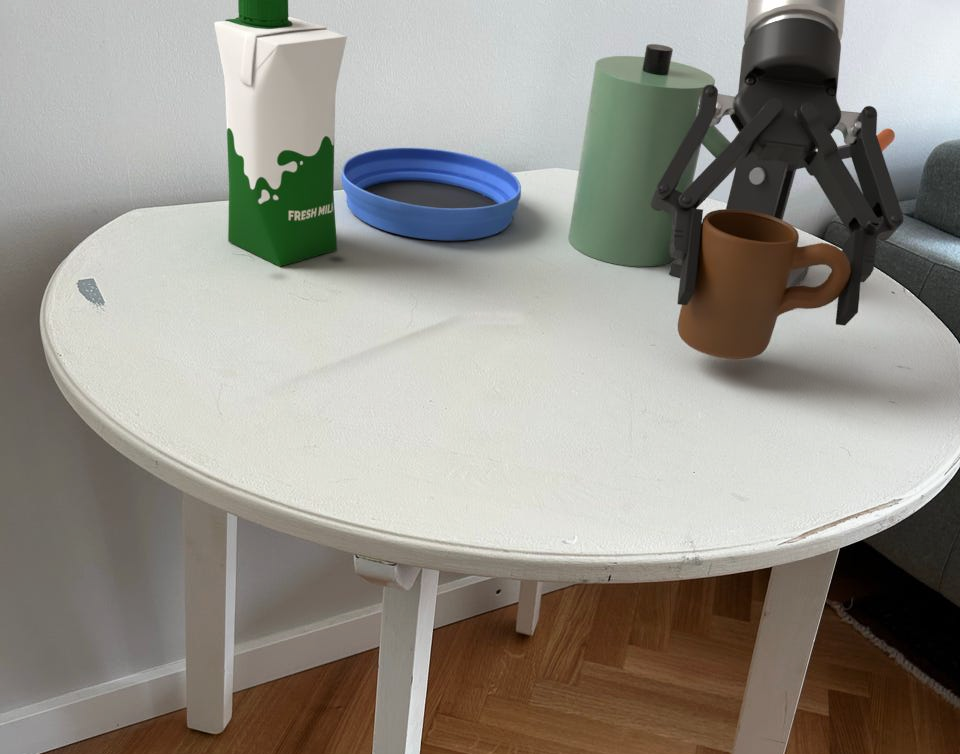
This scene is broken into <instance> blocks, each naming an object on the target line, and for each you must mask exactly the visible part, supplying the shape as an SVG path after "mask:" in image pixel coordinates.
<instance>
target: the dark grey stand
mask: <svg viewBox="0 0 960 754" xmlns="http://www.w3.org/2000/svg"><path fill="white" fill-rule="evenodd" d="M787 168H788V164H787V163H784V162H782V161H779V160H771V161H764V160H758V156H756V155H754V154H753V153H751V154H750V155H749V156H748V157H747V158H746V159H745V160H744V161H743V162H742V163H741V164H740V165H739V166H737V167H736V168H735V169H734V174H733V178H732V183H731V186H730V190H729V194H728V199H727V203H726V208H725V209H738V210H747V211H753V212H758V213H762V214H766V215H769V216H773V217H775V218H778V219H780V220H783V219H784V216H785V213H786V209H787V205H788V202H789V198H790V195H791V190H792V187H793V185H794V184H793V183H794V180H795V176H796V172H797V169H796V170H791V171H787ZM785 175H786V177H785ZM783 221H784V220H783ZM681 265H682V259H679V258H675V259H674V260H672V261H671V262H670V268H669V272H668V275H670V276H673V277H676V278H679V279H680V274H681ZM809 269H810V267H804V268H799V269H794V270H792V271H791V273H790V276H789V280H788V283H787V287H786V288H788V287H792V286H799V284H801V283H802V282H803V280H804V279H805V278H806V277H807V276H808V272H809Z"/></svg>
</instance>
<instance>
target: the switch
mask: <svg viewBox="0 0 960 754" xmlns="http://www.w3.org/2000/svg"><path fill="white" fill-rule="evenodd" d="M876 135H877V138H878V141H879V144H880V147H881V150H882V152H884V151H885V150H886V149H887V148H888V147H889V146H890V144H892V143H893V141H894V140H895V137H896V133H895V131H894V130H893V129H892V128H884V129H883V130H881V131H880V132H879V133H878V134H876ZM837 147H838V154H839V156H840V158H841V159H842V160H846V159H852V158H851V153H850V144H849V145H847V144H843V145H839V146H838V145H837ZM816 152H818V150H816ZM799 169H800V170H801V169H805V167H804V165H803V164H802V162H801V161H800V162H798V163H797V165H794V164H788V168H787V171H791V170H796V171H797V170H799ZM785 177H786V175H785Z"/></svg>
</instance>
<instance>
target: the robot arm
mask: <svg viewBox="0 0 960 754" xmlns="http://www.w3.org/2000/svg"><path fill="white" fill-rule="evenodd" d="M845 5H846V0H747V6H746V15H745V23H744V33H743V41H744V44H743V47H742V51H741V62H740V72H739V79H738V80H739V81H738V90H737V93H736V94H735V96H733V95H729V94H723V93H719V90H718V88H717V87H716V85H715V84H714V85H706V86H705V87H704V88H703V91H702V93H701V96H700V98H699V101H698V103H697V106H696V109H695V115H694V122H693V123H692V125H691V127H690V129H689V130H688V132H687V134H686V136H685V137H684V139H683V141H682V143H681V144H680V146H679V148H678V150H677V151H676V153H675V155H674V157H673V158H672V160H671V162H670V164H669V165H668V167H667V169H666V171H665V172H664V174H663V176H662V178H661V179H660V181H659V183H658V185H657V187H656V190H655V192H654V195H653V197H652V200H651V207H652V208H653V209H654V210H656V211H661V210H663V211H665V212H667V213H668V214H669V215H670V216H671V219H670V220H671V223H672V232H671V241H670V255H671V258H675V259H677V258H679V259H682V265H681V274H680V278H679V285H678V293H677V294H678V295H677V305H680V306H682V305H687V304H688V303H689V301H690V299H691V297H692V295H693V294H694V292H695V284H696V274H697V264H698V255H699V245H700V235H701V226H702V221H703V214H704V209H702V208H699V207H700V206H701V205H702V204H703V203H704V201H706V200H707V198H708V197H709V196H710V195H711V194H712V193H713V192H714V191H715V190H716V189H717V188H718V187H719V186H720V185H721V184H722V183H723V182H724V180H726V178H727V177H728V176H730V174H731V173H732V172H733V171H735V169H736V167H737V166H739V165H740V164H741V163H742V162H743V161H744V160H745V159H746V158H747V157H748V156H749V155H750V154H751V153H753V154H754V155H756V156H758V160H764V161H771V160H779V161H782V162H784V163H787V164H794V165H797V163H798V162H800V161H801V162H802V164H803V165H804V167H805V168H804V169H805V170H806V172H807V174H809V176H813V177H814V178H815V180H816V182H817V183H818V185H819V187H820V189H821V190H822V191H823V193H824V195H825V197H826V198H827V200H828V202H829V203H830V205H831V206H832V208H833V210H834V212H835V213H836V215H837V216H838V218H839V219H840V221H841V223H842V225H843V226H844V228H845V229H846V231H847V233H848V234H849V236H848V237H847V239H846V240H845V241H844V243H843V244H842V249H841V251H843V252H844V253H845V254H846V256H847V258H848V260H849V262H850V268H851V274H850V278H849V282H848V284H847V286H846V288H845V289H844V291H843V292H842V293H841V294H840V296H839V297H838V298H837V304H836V316H835V325H837V326H843V327H845V326H846V325H847V324H849V322H850V321H852V319H853V318H854V317H855V316H856V315H857V314H858V313H859V306H860V305H859V303H860V293H861V283H865V282H866V281H867V280H868V279H869V277H870V276H871V275H872V273H873V272H874V270H875V259H876V246H877V241H879V240H880V241H888V240H889V239H890V238H891V237H892V236H893V235H894V233H895V232H896V231H897V230H898V229H899V228H900V226H902V225H903V223H904V215H903V212H902V209H901V206H900V203H899V200H898V196H897V194H896V190H895V187H894V184H893V182H892V178H891V175H890V172H889V169H888V166H887V163H886V159H885V156H884V154H883V151H882V150H881V147H880V144H879V141H878V138H877V135H878V134H877V130H878V129H877V128H878V111H877V109H876V108H875V107H874V106H872V105H866V106H865V107H863V109H862V110H861V112H856V111H845V110H841V107H840V105H839V102H838V99H837V98H838V97H837V94H838V87H839V86H838V85H839V75H840V74H839V73H840V65H841V64H840V62H841V54H842V53H841V52H842V43H841V40H842V38H843V33H844V32H843V31H844V21H845V19H844V18H845V9H846V8H845ZM725 116H729V117H730V120H731V121H732V123H733V125H734V127H735V128H736V129H737V132H738V133H737V134H736V136H735V137H734V139H732V140H731V141H730V144H729V145H728V146H727V147H726V148H725V149H724V150H723V151H722V152H721V153H720V154H719V156H718V157H717V158H714V160H712V162H711V163H710V164H709V165H708V166H706V168H705V169H704V170H703V171H702V172H701V173H700V174H699V175H698V176H697V177H696V178H694V180H693V183H692V184H691V185H690V186H689V187H688V188H687V189H686V190H685V191H684V192H683V193H681V192H679V191H677V190H675V189H676V187H677V185H678V184H679V182H680V180H681V178H682V177H683V175H684V173H685V171H686V170H687V168H688V166H689V164H690V162H691V161H692V159H693V157H694V155H695V154H696V152H697V150H698V148H699V147H700V145H701V146H702V141H703V139H704V137H705V135H706V133H707V131H708V128H709V126H718V125H719V124H720V122H721V121H722V119H723V117H725ZM835 130H838V131H840V132H841V134H842V136H843V142H844V145H849V144H850V153H851V158H850V159H851V161H852V164H853V167H854V170H855V173H856V177H857V180H858V183H859V185H858V183H857V182H856V180H855V179H854V177H853V175H852V174H851V173H850V170H849V168H847V166H846V164H845V163H844V161H843V159H841V158H840V156H839V154H838V144H837V141H835V139H834V137H833V135H832V133H833V132H834V131H835ZM816 151H818V152H816ZM859 186H860V187H859Z"/></svg>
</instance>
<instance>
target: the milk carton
mask: <svg viewBox="0 0 960 754" xmlns="http://www.w3.org/2000/svg"><path fill="white" fill-rule="evenodd" d="M237 1H238V3H237V4H238V8H237V9H238V10H237V11H238V17H234V18H227V19H225V20H220V21H214V24H213V25H214V30H215V31H214V32H215V36H216V41H217V46H218V47H217V48H218V51H219V57H220V62H221V67H222V73H223V80H224V90H225V91H224V92H225V93H224V94H225V113H226V116H225V117H226V142H227V168H228V170H227V171H228V228H227V229H228V233H227V235H228V236H227V241H228V243H230V244H233V245H235V246H237V247H238V248H240V249H243V250H245V251H247V252H249V253H251V254H253V255H255V256H257V257H260V258H261V259H263V260H265V261H268V262H269V263H272V264H274V265H276V266H278V267H284V266H287V265H290V264H294V263H297V262H300V261H304V260H308V259H311V258H314V257H318V256H321V255H324V254H325V255H326V254H328V253H332V252H335V251H338V241H337V240H338V239H337V227H336V226H337V225H336V224H337V223H336V212H335V211H336V210H335V193H334V192H335V191H334V190H335V189H334V184H335V180H334V179H335V133H336V131H335V129H336V93H337V85H338V79H339V76H340V71H341V67H342V62H343V58H344V52H345V49H346V45H347V44H346V43H347V38H348V36H347V35H344V34H341V33H337V32H335V31H332V30H329V29H327V27H326V26H324V25H321V24H315V23H312V22H308V21H305V20H302V19H299V18H296V17H292V16H289V0H237Z"/></svg>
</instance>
